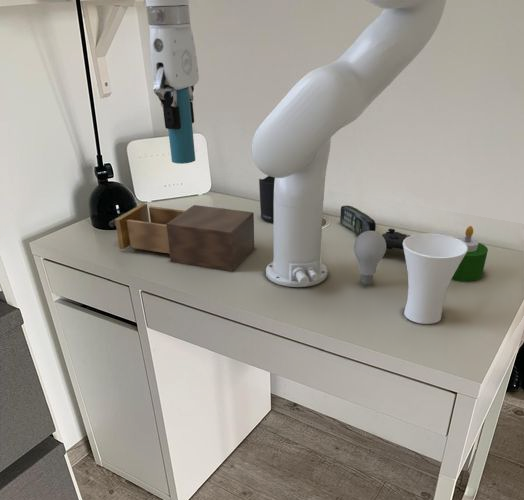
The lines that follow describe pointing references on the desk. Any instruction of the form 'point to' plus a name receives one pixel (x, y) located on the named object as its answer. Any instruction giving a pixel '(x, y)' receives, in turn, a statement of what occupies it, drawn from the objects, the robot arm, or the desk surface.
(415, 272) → the cup
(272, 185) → the pen holder
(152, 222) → the drawer
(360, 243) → the lightbulb
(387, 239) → the gaming controller
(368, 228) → the mobile phone
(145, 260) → the desk surface
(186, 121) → the teal bottle
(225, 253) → the cabinet
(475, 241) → the candle
